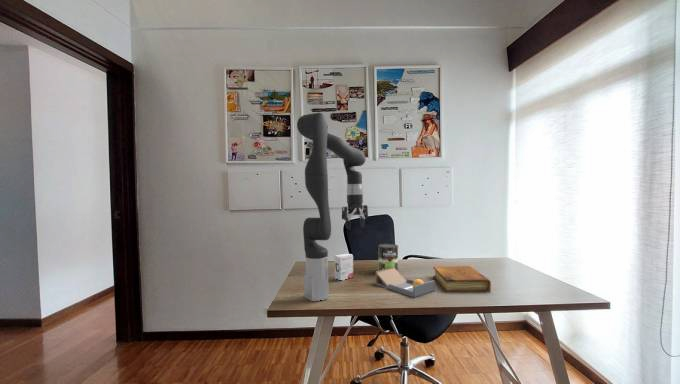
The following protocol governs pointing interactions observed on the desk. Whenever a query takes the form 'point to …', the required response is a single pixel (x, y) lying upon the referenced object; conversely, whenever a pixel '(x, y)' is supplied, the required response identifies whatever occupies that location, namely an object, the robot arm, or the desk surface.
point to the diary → (461, 279)
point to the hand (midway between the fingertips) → (355, 227)
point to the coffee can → (388, 256)
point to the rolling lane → (402, 283)
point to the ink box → (343, 266)
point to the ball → (417, 282)
